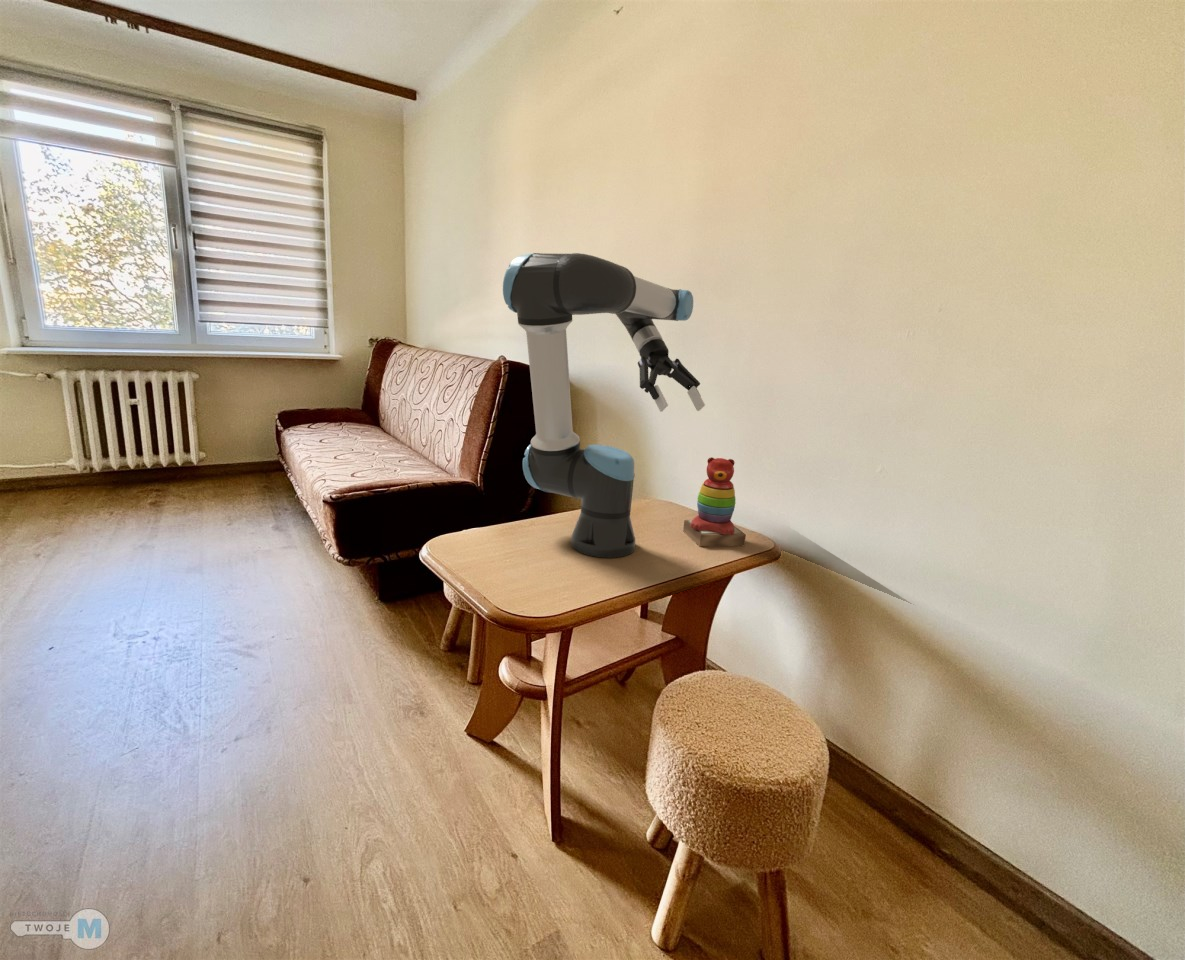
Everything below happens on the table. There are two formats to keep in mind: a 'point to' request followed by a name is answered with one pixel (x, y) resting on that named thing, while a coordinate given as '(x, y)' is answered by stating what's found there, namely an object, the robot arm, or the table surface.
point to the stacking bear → (716, 498)
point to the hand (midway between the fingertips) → (683, 408)
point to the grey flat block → (713, 536)
